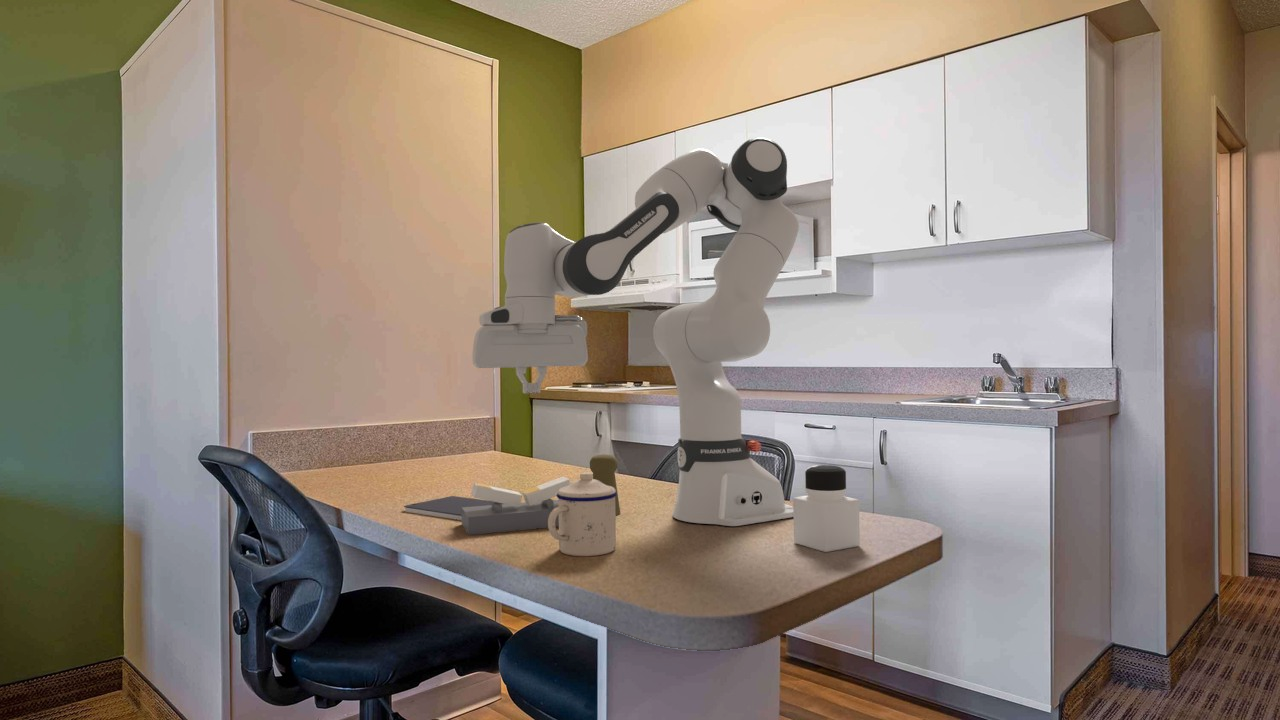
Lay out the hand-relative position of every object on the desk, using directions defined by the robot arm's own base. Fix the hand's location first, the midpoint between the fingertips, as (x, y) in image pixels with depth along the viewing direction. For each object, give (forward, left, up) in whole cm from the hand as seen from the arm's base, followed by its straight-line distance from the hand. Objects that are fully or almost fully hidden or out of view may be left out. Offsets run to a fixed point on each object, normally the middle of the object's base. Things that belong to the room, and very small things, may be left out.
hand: (531, 393), depth 137 cm
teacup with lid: (-2, +23, -23) cm, 33 cm away
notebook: (+10, -17, -24) cm, 31 cm away
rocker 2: (-3, 0, -18) cm, 19 cm away
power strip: (-1, 0, -23) cm, 23 cm away
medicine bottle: (-38, +34, -23) cm, 56 cm away
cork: (-14, -3, -23) cm, 27 cm away
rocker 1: (+7, 0, -18) cm, 19 cm away
